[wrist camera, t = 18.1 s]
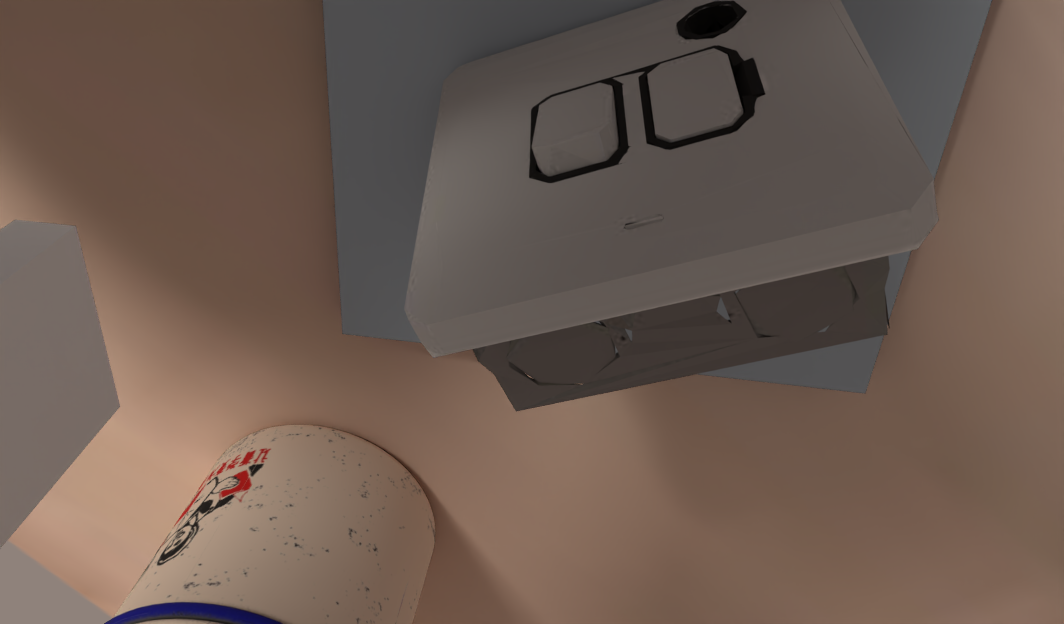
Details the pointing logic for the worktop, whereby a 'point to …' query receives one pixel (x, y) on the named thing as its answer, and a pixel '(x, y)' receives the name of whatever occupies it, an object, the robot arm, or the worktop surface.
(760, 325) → the electrical switch
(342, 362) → the worktop surface
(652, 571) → the worktop surface
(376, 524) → the teacup with lid
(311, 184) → the worktop surface
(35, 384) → the robot arm
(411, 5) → the pad
